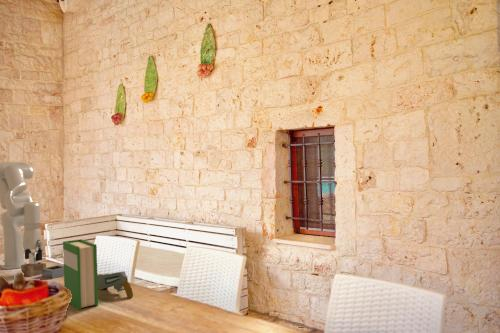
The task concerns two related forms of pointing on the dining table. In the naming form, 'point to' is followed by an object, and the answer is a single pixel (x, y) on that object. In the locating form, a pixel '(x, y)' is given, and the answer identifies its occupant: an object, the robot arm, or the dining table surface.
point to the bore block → (33, 269)
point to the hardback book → (81, 272)
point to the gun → (115, 282)
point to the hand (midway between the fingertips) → (33, 259)
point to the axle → (32, 259)
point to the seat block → (53, 272)
